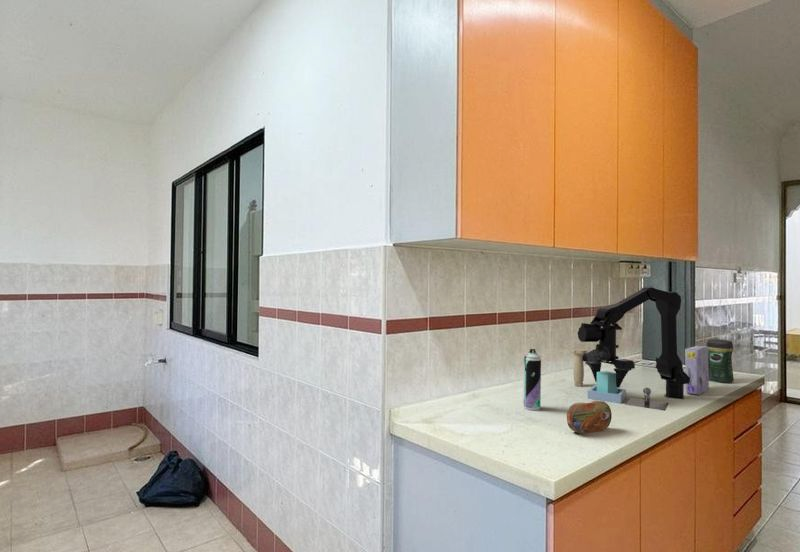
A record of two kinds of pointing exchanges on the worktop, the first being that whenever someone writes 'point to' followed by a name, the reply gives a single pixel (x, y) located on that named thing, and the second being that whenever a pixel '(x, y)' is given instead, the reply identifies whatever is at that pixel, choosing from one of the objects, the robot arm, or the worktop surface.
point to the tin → (589, 417)
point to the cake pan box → (697, 369)
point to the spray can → (532, 380)
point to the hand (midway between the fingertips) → (607, 384)
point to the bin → (606, 395)
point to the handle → (578, 366)
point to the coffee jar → (720, 360)
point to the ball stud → (647, 402)
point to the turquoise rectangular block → (606, 382)
